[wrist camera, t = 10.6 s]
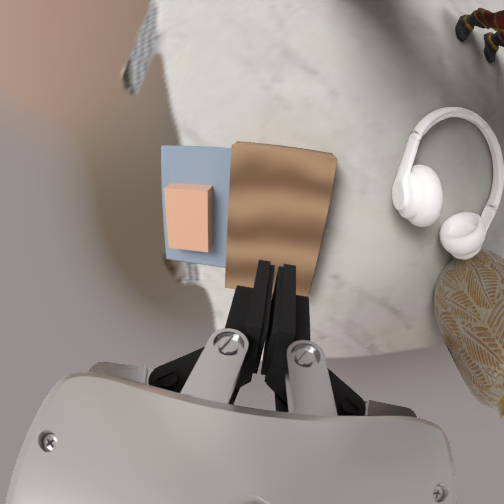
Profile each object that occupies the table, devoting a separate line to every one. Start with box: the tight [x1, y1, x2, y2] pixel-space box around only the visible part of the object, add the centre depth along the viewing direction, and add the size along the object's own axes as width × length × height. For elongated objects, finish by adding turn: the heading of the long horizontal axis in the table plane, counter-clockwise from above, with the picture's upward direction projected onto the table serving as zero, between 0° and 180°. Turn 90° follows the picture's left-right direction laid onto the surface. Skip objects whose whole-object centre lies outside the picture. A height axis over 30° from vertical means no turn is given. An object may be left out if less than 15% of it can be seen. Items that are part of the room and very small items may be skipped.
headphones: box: [392, 107, 504, 260], centre depth 27 cm, size 20×8×20 cm
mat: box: [161, 146, 232, 267], centre depth 38 cm, size 18×10×1 cm, turn 175°
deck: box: [225, 141, 337, 297], centre depth 36 cm, size 20×12×4 cm, turn 175°
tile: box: [164, 183, 213, 252], centre depth 37 cm, size 9×6×2 cm, turn 177°
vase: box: [434, 249, 504, 420], centre depth 27 cm, size 17×17×27 cm
